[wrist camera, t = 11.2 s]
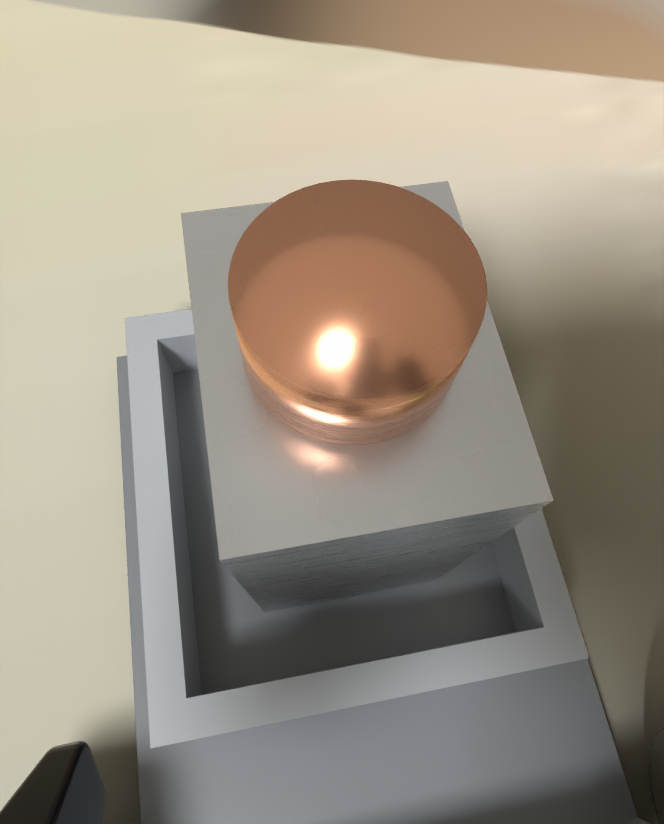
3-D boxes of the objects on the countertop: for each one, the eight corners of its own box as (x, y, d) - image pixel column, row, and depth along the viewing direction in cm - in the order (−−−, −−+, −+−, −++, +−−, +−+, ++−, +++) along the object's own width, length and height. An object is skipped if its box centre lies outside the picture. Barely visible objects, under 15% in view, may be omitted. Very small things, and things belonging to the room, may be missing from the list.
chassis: (800, 990, 17) (1106, 1195, 10) (28, 1203, 15) (-191, 1624, 8) (547, 308, 25) (628, 186, 19) (34, 382, 23) (-73, 272, 17)
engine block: (434, 580, 20) (607, 463, 8) (265, 612, 19) (198, 534, 8) (388, 389, 22) (471, 99, 11) (238, 413, 22) (158, 133, 10)
